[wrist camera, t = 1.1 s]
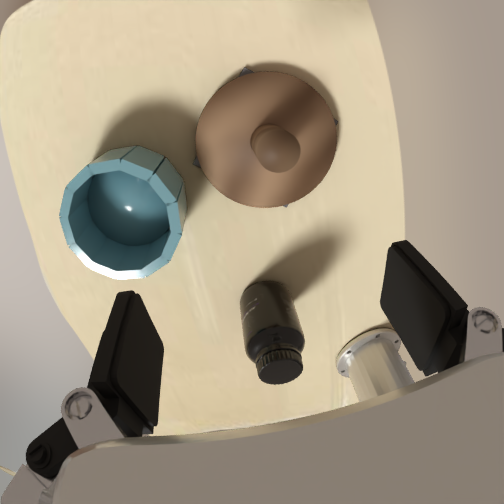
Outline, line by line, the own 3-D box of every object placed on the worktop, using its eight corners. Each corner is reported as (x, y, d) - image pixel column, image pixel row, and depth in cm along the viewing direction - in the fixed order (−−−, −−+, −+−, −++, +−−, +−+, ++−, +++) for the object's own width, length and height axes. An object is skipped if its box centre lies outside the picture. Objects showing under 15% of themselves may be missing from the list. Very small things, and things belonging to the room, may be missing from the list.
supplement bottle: (235, 283, 37) (245, 357, 27) (289, 274, 38) (315, 345, 27) (242, 321, 41) (252, 394, 31) (290, 314, 41) (312, 383, 31)
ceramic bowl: (204, 173, 30) (202, 192, 25) (163, 263, 35) (156, 294, 30) (101, 131, 26) (77, 141, 21) (74, 226, 31) (53, 252, 26)
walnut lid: (356, 117, 28) (384, 126, 23) (290, 224, 33) (304, 251, 28) (237, 48, 23) (243, 37, 18) (173, 171, 29) (164, 190, 24)
